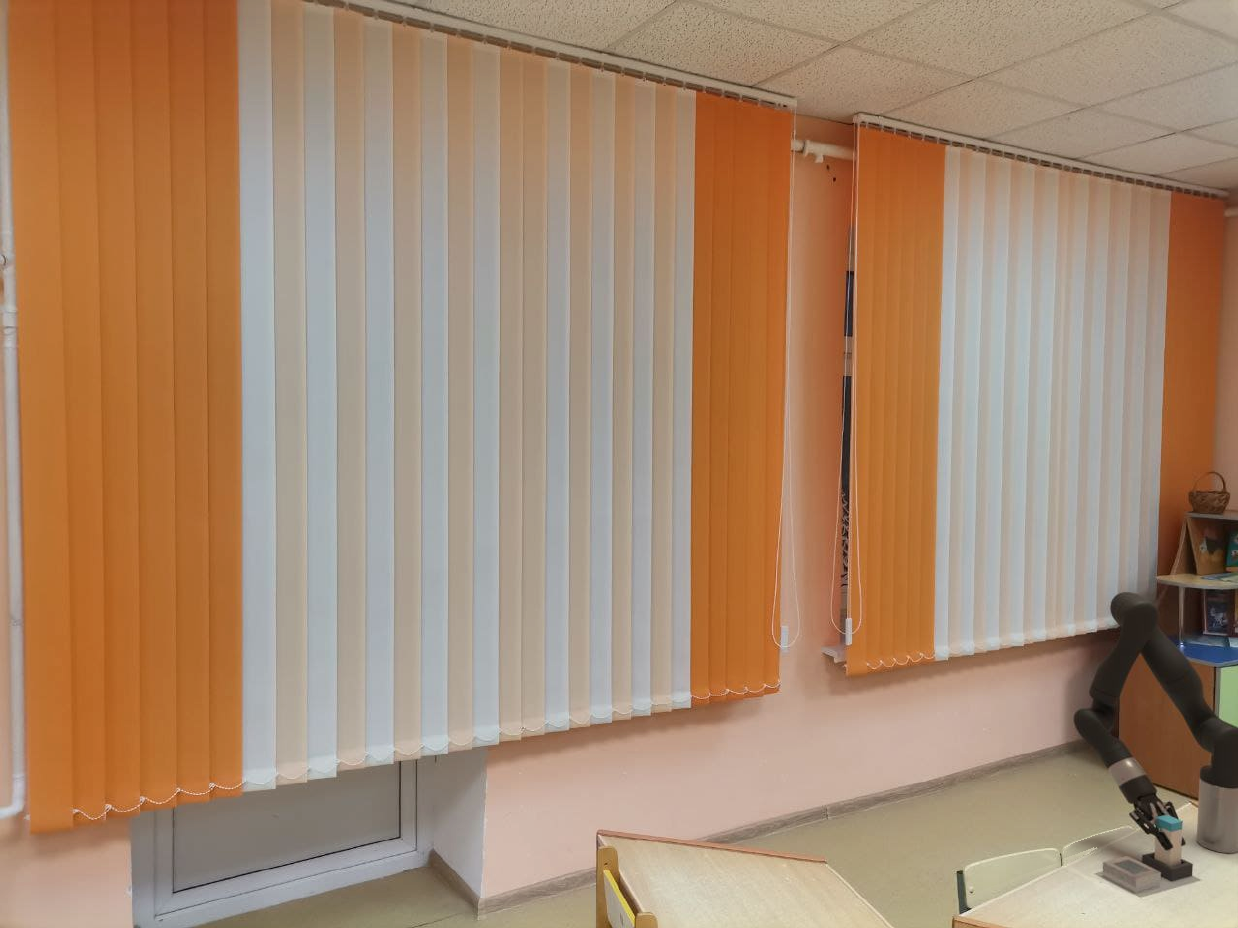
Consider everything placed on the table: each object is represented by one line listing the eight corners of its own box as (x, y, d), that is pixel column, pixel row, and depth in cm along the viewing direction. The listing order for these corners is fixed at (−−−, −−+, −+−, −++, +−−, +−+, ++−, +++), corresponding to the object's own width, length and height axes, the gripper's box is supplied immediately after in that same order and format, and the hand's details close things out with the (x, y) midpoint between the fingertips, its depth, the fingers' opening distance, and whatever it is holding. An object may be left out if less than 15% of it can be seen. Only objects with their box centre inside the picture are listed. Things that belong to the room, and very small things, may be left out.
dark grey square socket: (1162, 861, 223) (1162, 849, 223) (1192, 875, 216) (1192, 863, 216) (1141, 866, 220) (1142, 855, 220) (1171, 881, 213) (1172, 869, 213)
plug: (1164, 861, 221) (1166, 814, 220) (1180, 868, 217) (1182, 821, 217) (1154, 864, 219) (1156, 817, 219) (1169, 872, 216) (1171, 823, 215)
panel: (1154, 861, 225) (1154, 857, 225) (1201, 883, 214) (1201, 879, 214) (1094, 877, 216) (1094, 873, 216) (1140, 901, 205) (1140, 897, 205)
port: (1126, 869, 219) (1127, 855, 218) (1160, 886, 211) (1160, 871, 211) (1102, 875, 215) (1103, 861, 215) (1135, 893, 207) (1136, 878, 207)
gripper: (1122, 777, 221) (1167, 846, 211) (1160, 769, 227) (1206, 836, 216) (1102, 790, 226) (1145, 858, 216) (1140, 782, 232) (1184, 848, 222)
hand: (1176, 846), depth 216 cm, fingers closed on plug, 4 cm apart
